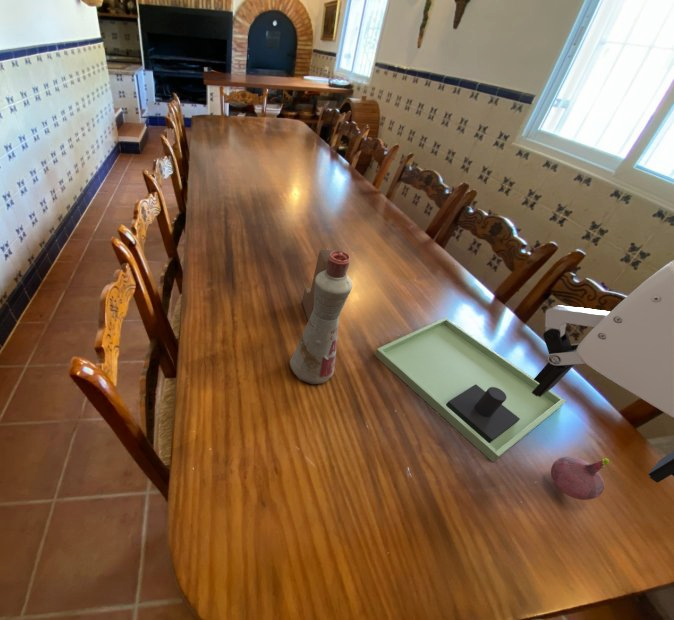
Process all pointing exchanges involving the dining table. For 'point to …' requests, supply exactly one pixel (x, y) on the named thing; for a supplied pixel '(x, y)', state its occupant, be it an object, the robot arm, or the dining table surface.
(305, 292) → the wooden block
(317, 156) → the dining table surface
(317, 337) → the bottle
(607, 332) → the robot arm
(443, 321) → the pale green flat tray
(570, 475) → the vegetable
